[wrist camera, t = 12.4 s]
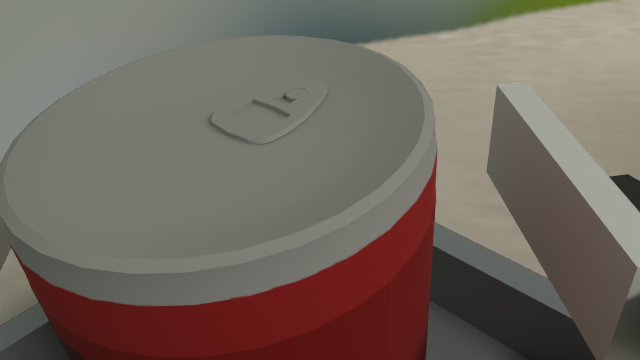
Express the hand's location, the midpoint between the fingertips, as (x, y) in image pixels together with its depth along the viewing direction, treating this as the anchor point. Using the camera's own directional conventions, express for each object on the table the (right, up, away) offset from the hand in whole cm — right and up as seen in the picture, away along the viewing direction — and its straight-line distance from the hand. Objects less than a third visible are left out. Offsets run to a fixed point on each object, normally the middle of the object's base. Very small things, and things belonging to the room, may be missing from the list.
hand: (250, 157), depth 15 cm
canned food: (+1, -8, +2) cm, 9 cm away
